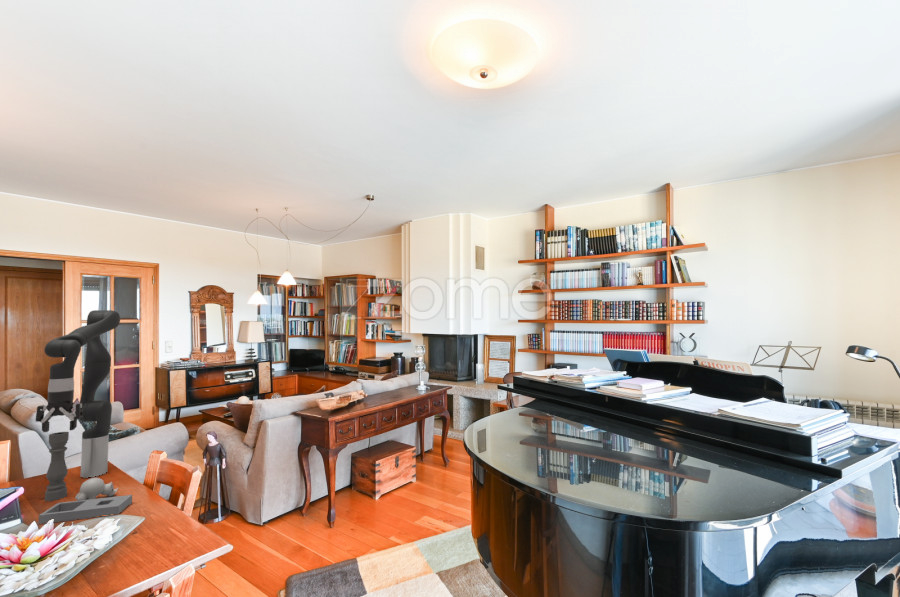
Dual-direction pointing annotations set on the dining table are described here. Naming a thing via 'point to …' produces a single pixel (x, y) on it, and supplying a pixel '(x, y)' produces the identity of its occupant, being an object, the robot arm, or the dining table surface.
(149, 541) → the dining table surface
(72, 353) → the robot arm
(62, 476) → the candle holder
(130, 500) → the hole board
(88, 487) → the toy rhinoceros
